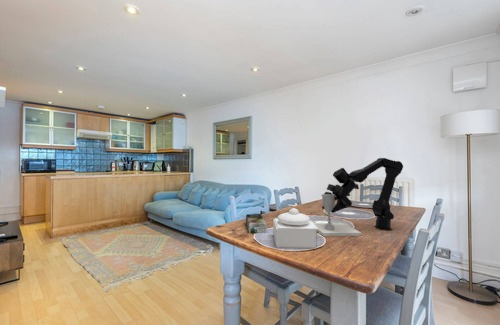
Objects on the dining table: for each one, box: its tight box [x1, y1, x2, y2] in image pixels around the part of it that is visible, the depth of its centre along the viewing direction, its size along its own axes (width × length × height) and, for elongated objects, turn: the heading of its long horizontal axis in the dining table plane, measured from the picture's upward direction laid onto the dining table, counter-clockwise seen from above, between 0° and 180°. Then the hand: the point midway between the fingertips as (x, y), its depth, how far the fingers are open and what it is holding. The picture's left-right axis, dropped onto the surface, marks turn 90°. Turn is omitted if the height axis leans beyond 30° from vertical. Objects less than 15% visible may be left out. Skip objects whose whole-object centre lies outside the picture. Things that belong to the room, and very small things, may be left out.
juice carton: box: [245, 213, 267, 234], centre depth 130 cm, size 20×10×6 cm, turn 7°
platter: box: [313, 222, 362, 237], centre depth 126 cm, size 20×18×2 cm
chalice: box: [321, 193, 336, 230], centre depth 124 cm, size 7×7×18 cm
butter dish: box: [272, 207, 318, 249], centre depth 109 cm, size 18×18×16 cm
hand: (327, 210), depth 124 cm, fingers open, 9 cm apart
